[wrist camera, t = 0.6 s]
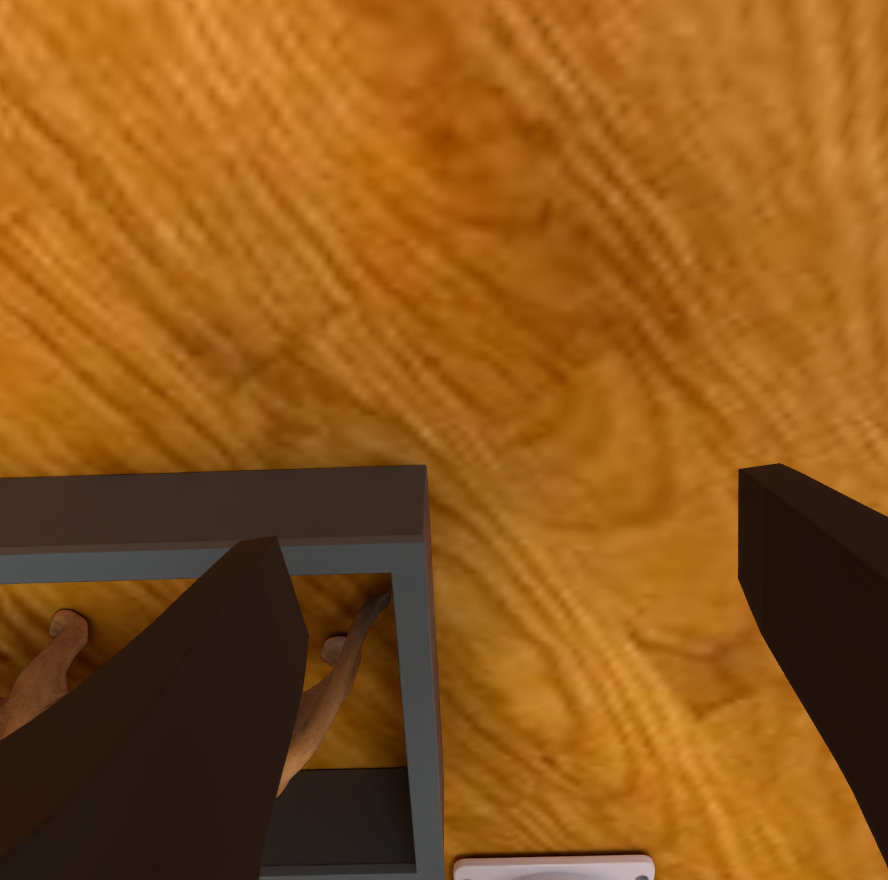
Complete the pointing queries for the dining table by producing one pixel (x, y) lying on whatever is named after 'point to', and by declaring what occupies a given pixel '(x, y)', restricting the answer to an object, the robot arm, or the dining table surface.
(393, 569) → the crate
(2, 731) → the lion figurine
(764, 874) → the dining table surface
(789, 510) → the robot arm
